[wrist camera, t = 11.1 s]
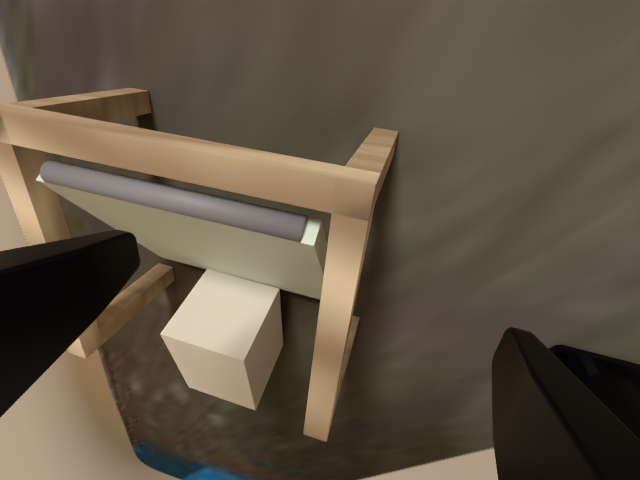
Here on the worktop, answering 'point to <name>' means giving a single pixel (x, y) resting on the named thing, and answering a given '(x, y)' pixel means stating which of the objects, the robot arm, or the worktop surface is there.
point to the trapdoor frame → (212, 171)
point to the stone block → (227, 337)
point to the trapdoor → (201, 227)
